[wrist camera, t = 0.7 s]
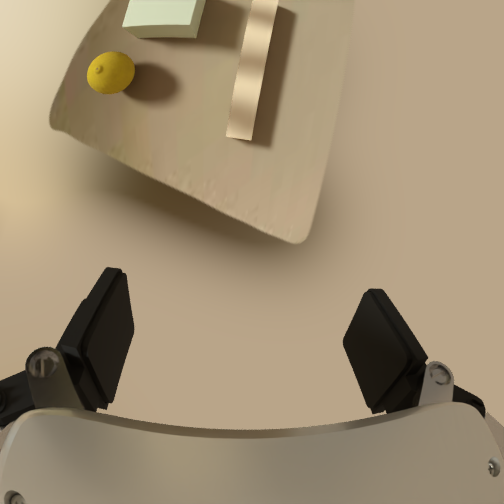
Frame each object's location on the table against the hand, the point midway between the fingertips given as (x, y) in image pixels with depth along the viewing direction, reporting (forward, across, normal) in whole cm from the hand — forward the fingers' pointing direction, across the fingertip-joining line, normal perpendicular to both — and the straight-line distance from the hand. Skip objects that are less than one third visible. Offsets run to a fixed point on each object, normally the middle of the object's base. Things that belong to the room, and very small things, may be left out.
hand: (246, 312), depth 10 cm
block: (+28, +11, -21) cm, 37 cm away
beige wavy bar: (+28, 0, -14) cm, 31 cm away
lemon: (+28, +16, -12) cm, 35 cm away
